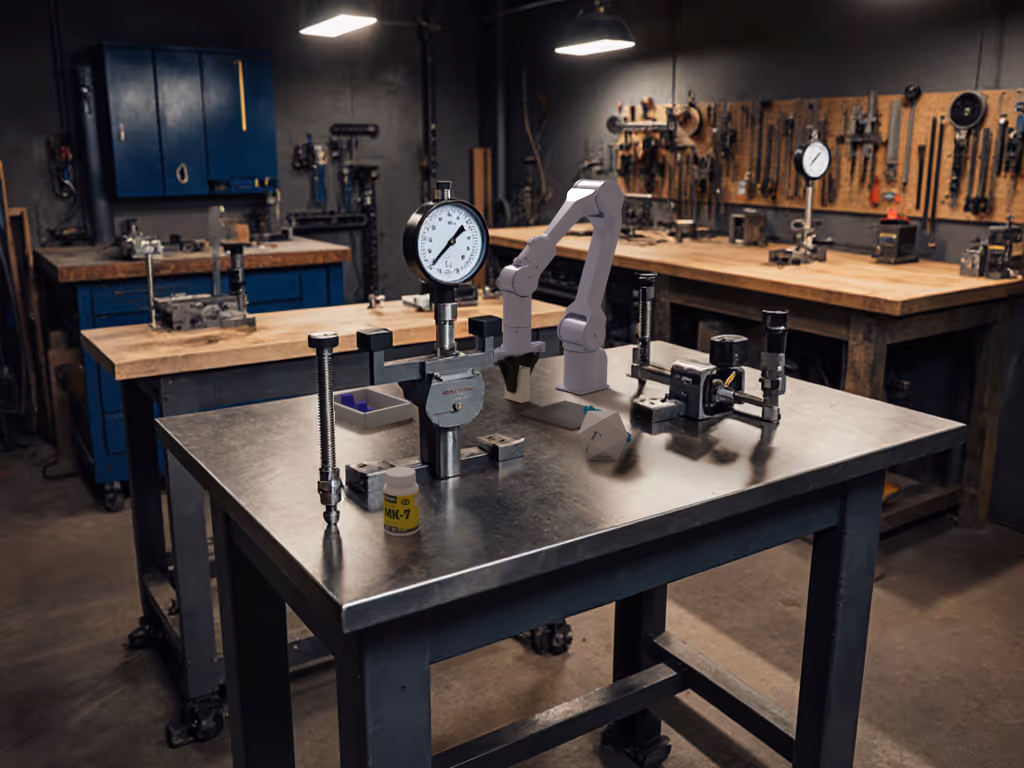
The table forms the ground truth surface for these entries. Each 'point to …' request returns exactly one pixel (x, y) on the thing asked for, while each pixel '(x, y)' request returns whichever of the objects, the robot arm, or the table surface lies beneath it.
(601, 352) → the robot arm
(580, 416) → the mat
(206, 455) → the table surface
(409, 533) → the supplement bottle
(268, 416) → the table surface
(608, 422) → the die
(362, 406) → the blue stepped block
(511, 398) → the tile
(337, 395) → the parts tray
